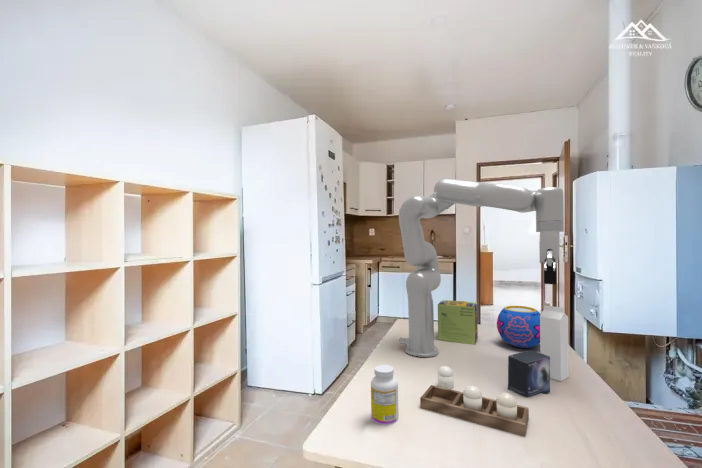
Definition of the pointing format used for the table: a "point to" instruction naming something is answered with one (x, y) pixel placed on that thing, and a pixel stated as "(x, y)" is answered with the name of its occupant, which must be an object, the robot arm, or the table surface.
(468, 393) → the egg middle
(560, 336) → the milk
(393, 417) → the supplement bottle
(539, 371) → the small box
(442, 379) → the white rounded cylinder
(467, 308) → the protein box
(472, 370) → the table surface
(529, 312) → the ceramic pot
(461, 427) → the table surface
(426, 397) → the crate
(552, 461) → the table surface
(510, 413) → the egg far
